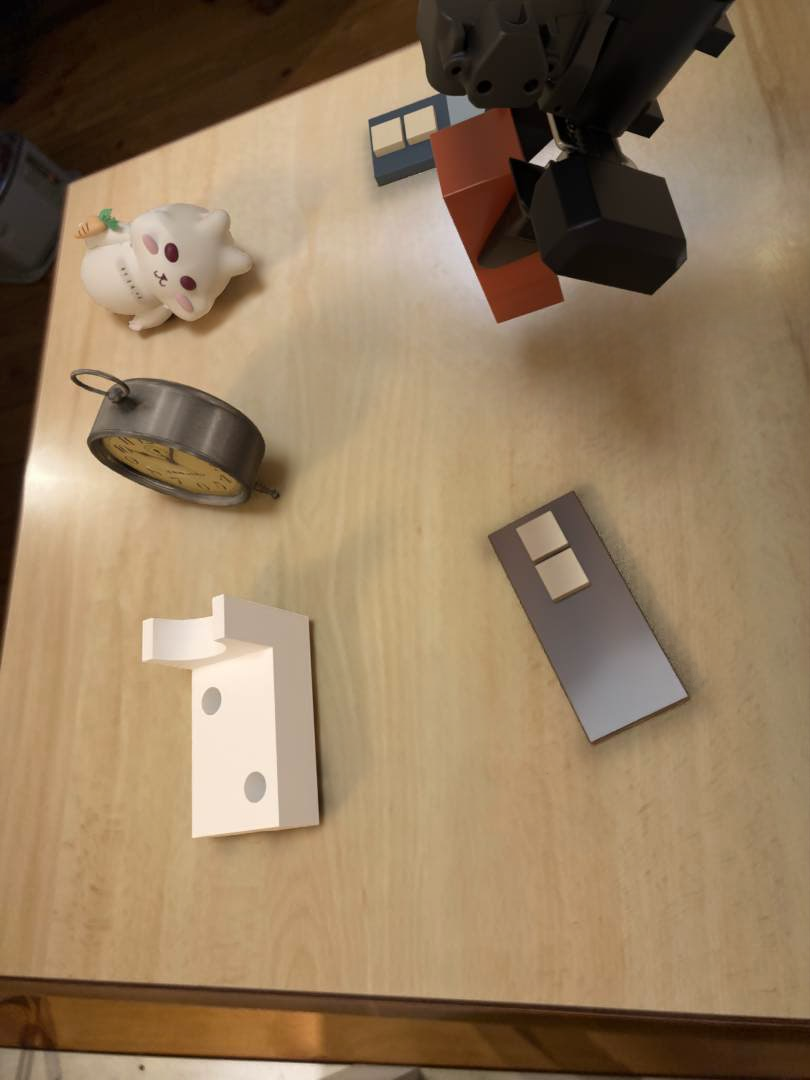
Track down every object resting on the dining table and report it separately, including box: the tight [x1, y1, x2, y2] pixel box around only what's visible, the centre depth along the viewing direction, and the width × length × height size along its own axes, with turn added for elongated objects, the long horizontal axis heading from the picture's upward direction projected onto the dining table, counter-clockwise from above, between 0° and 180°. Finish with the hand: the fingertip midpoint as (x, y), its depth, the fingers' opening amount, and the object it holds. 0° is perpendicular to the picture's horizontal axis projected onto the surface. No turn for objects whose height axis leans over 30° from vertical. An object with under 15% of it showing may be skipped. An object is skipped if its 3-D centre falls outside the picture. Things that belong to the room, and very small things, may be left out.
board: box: [487, 490, 691, 746], centre depth 49 cm, size 6×14×2 cm, turn 23°
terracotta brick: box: [430, 108, 565, 325], centre depth 44 cm, size 4×4×11 cm
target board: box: [367, 92, 485, 187], centre depth 64 cm, size 15×6×2 cm, turn 96°
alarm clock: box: [69, 368, 281, 507], centre depth 54 cm, size 11×5×16 cm, turn 76°
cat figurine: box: [73, 202, 253, 332], centre depth 65 cm, size 10×8×15 cm
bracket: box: [141, 593, 320, 839], centre depth 51 cm, size 13×7×8 cm, turn 5°
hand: (477, 232), depth 44 cm, fingers closed on terracotta brick, 4 cm apart
